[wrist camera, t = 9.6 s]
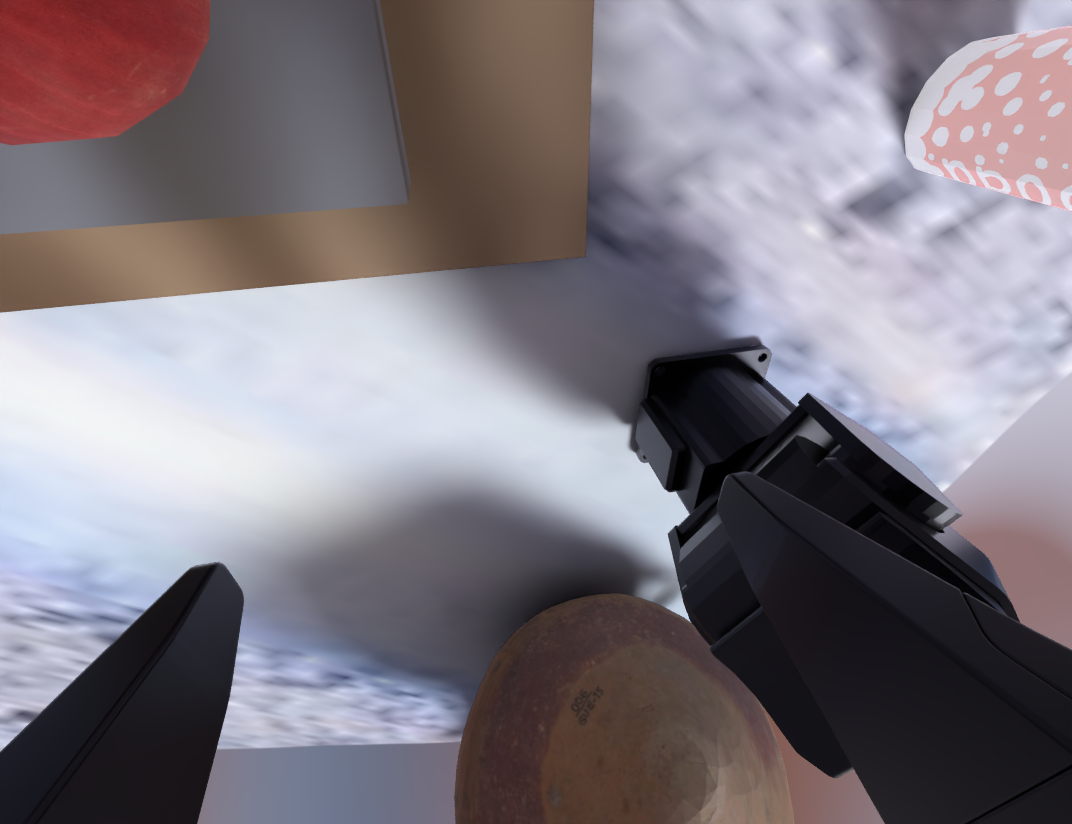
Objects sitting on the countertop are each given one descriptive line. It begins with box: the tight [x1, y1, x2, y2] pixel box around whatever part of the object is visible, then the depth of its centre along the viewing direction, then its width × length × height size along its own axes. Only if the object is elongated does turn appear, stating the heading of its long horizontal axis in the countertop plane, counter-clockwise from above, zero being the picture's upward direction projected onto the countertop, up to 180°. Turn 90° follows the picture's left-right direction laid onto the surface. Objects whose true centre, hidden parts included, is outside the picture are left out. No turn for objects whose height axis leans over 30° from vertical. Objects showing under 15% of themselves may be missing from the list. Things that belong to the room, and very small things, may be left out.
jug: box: [454, 593, 795, 824], centre depth 32 cm, size 20×20×30 cm
